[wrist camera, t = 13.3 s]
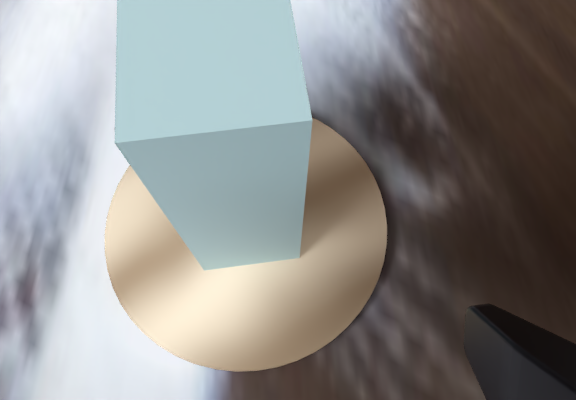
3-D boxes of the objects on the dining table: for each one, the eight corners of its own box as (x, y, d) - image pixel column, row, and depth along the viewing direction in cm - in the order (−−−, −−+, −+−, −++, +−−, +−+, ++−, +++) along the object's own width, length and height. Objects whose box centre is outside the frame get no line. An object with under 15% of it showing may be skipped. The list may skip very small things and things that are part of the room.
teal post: (299, 257, 22) (312, 120, 11) (204, 270, 21) (114, 143, 10) (286, 173, 23) (286, -21, 12) (198, 183, 23) (117, -5, 12)
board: (442, 256, 22) (446, 252, 22) (201, 441, 19) (198, 442, 18) (280, 71, 27) (280, 64, 26) (62, 196, 23) (57, 191, 23)
